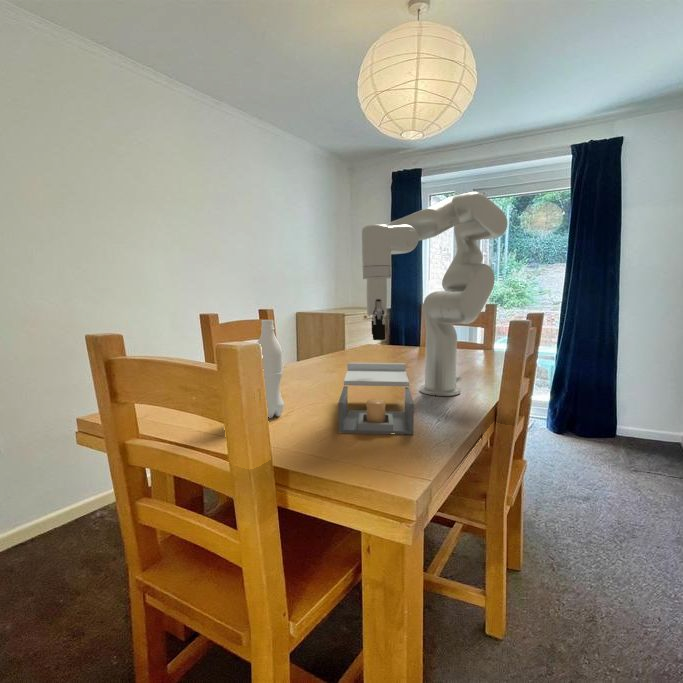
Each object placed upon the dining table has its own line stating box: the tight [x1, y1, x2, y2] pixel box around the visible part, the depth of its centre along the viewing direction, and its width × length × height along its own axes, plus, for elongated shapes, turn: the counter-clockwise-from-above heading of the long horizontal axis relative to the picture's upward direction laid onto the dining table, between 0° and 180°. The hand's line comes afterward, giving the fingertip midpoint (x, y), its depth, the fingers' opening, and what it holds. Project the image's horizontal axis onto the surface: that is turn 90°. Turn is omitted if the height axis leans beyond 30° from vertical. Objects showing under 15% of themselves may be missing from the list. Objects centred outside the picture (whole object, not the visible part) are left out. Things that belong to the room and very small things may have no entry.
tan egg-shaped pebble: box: [366, 399, 386, 423], centre depth 97 cm, size 4×4×6 cm
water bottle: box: [256, 319, 285, 419], centre depth 105 cm, size 7×7×25 cm
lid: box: [343, 362, 410, 387], centre depth 114 cm, size 15×17×3 cm
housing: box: [337, 385, 415, 435], centre depth 100 cm, size 15×17×7 cm
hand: (378, 337), depth 111 cm, fingers open, 9 cm apart
